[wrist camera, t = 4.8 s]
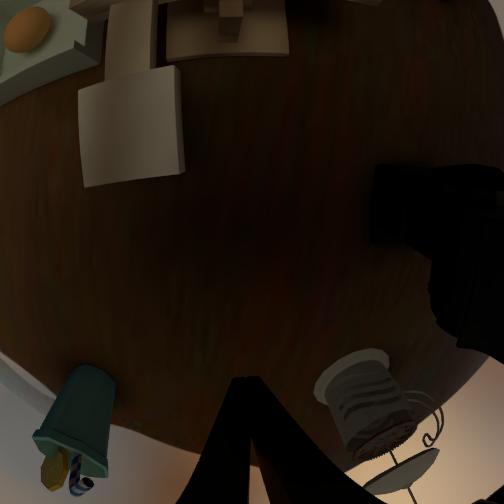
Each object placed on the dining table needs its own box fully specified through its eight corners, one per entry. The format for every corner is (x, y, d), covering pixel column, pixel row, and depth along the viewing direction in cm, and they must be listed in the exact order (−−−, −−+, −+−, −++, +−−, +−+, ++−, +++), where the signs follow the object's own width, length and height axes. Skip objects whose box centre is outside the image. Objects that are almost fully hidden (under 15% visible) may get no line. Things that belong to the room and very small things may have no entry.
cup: (91, 320, 21) (27, 464, 7) (159, 366, 24) (142, 513, 10) (52, 382, 24) (15, 480, 10) (104, 415, 26) (84, 515, 12)
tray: (113, -30, 10) (96, -56, 6) (100, 64, 14) (73, 47, 9) (11, 17, 9) (-14, 6, 5) (-2, 107, 12) (-35, 107, 8)
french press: (310, 366, 26) (397, 590, 3) (406, 330, 26) (528, 498, 3) (315, 413, 30) (374, 580, 7) (396, 382, 30) (478, 522, 7)
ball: (1, 21, 7) (35, 24, 10) (-8, 61, 8) (29, 61, 12) (26, -6, 6) (63, 1, 9) (14, 36, 7) (56, 40, 11)
